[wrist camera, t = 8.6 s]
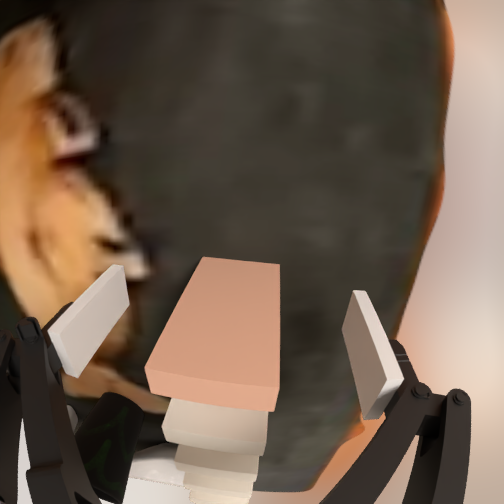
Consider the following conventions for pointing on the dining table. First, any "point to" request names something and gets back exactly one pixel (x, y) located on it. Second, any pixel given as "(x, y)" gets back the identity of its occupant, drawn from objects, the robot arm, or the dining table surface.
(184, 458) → the tile
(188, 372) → the tile
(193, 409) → the tile
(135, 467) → the spoon rest
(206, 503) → the tile
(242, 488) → the tile
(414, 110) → the dining table surface
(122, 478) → the cup
